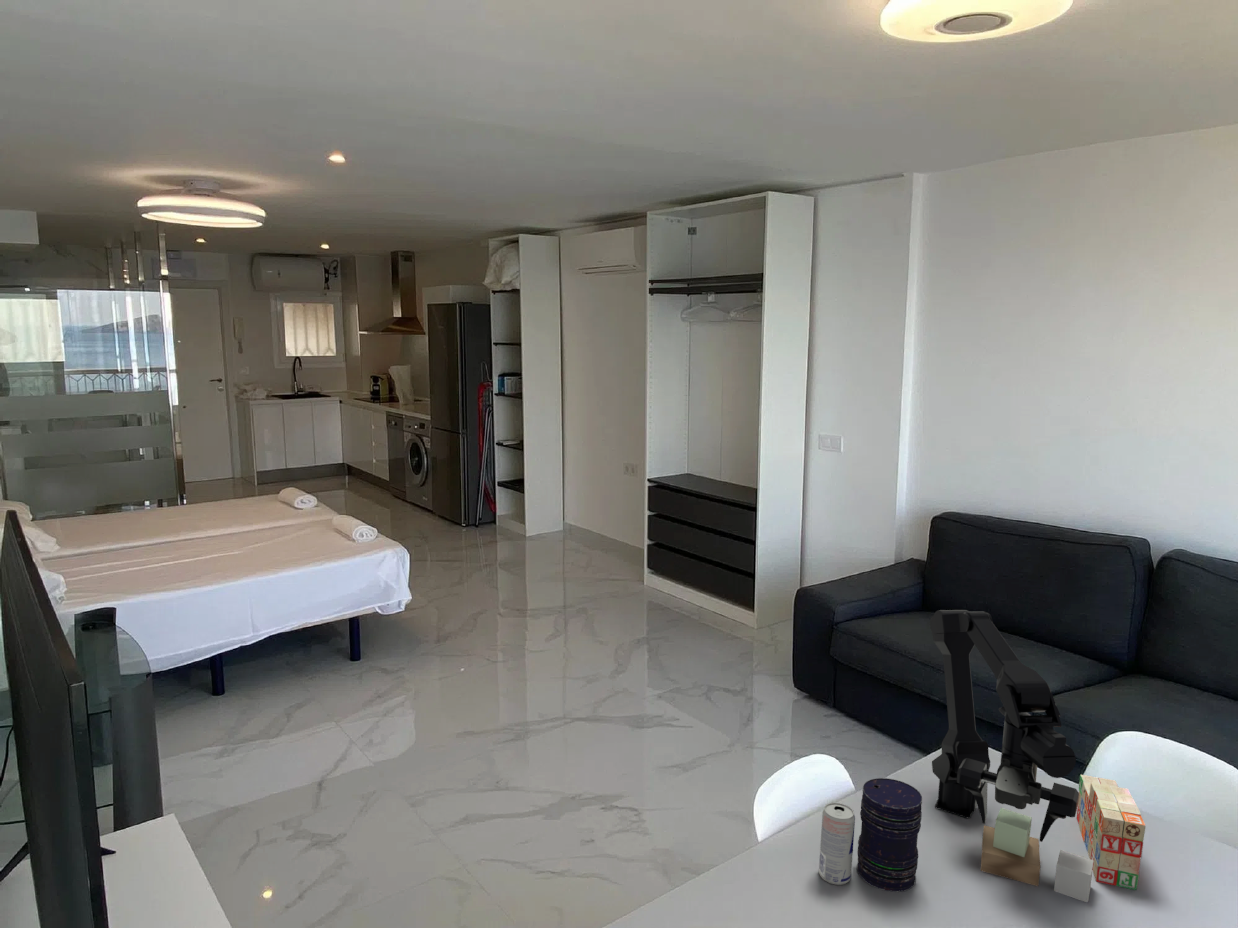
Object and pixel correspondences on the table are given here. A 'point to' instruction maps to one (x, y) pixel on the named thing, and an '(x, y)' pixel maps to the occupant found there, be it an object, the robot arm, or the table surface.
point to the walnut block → (1010, 860)
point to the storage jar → (889, 834)
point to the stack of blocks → (1111, 831)
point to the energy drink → (836, 843)
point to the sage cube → (1012, 832)
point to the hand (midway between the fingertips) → (1012, 831)
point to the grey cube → (1073, 875)
